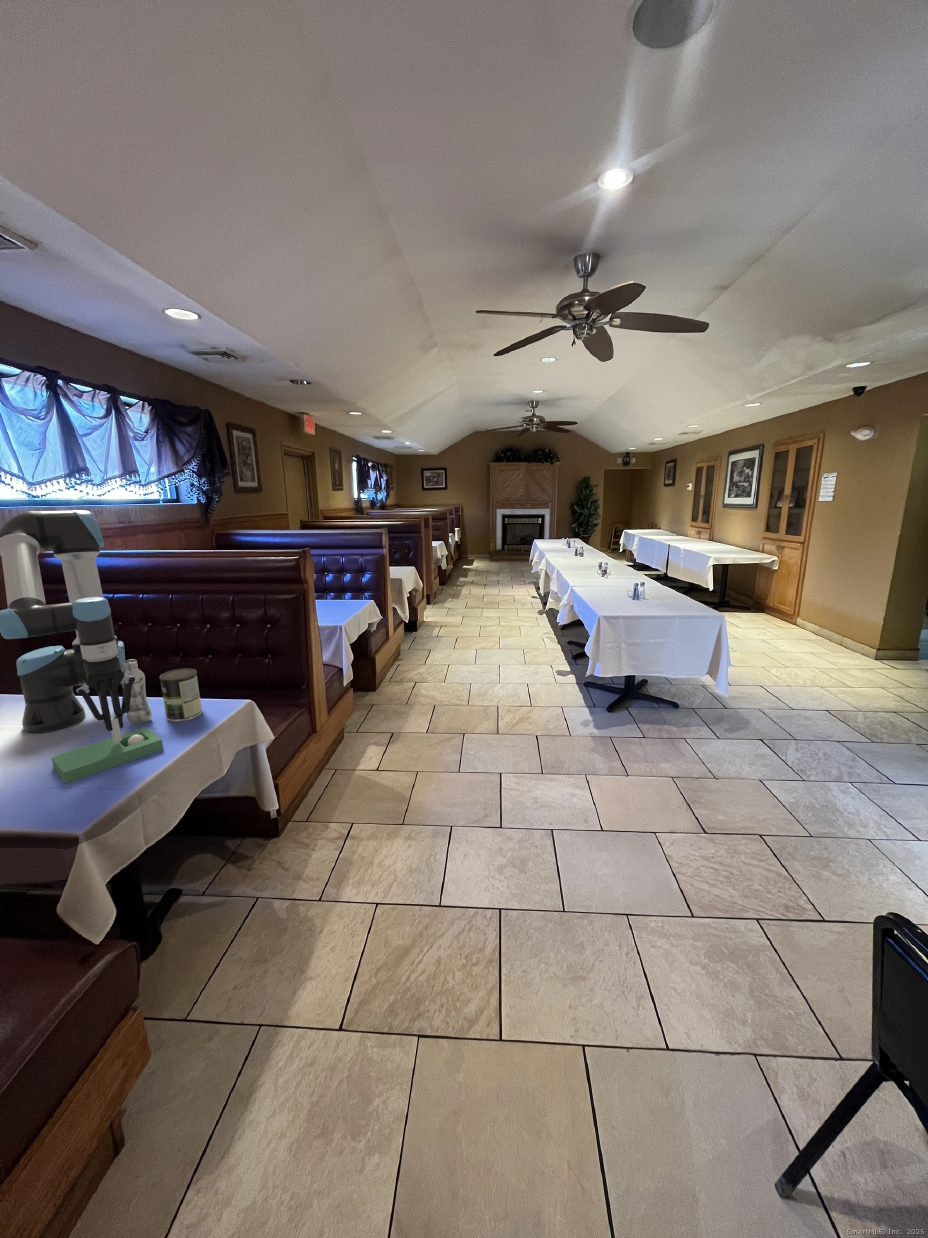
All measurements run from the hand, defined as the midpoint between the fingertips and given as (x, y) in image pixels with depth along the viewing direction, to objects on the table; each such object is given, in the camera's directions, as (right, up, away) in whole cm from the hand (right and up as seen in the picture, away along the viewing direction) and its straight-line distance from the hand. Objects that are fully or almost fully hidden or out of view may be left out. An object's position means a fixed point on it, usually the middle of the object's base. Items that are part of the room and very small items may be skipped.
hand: (117, 739), depth 134 cm
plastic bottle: (-7, 0, +20) cm, 21 cm away
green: (-1, -5, -1) cm, 5 cm away
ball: (+3, -1, +4) cm, 5 cm away
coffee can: (+4, +2, +25) cm, 26 cm away
